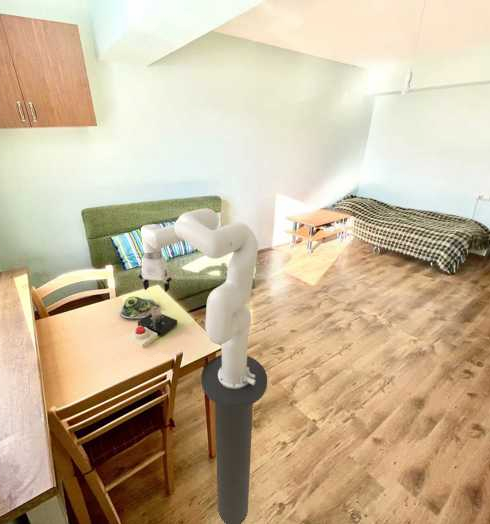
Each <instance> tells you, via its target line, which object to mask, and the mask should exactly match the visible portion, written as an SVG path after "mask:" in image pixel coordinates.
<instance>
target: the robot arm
mask: <svg viewBox="0 0 490 524" xmlns="http://www.w3.org/2000/svg"><path fill="white" fill-rule="evenodd" d="M219 221H220V219H219V216H218V214H217V213H216V211H214V210H213V209H211V208H207V207H206V208H198V209H195V210H190V211H186V212H184V213H182V214H180V216H179V217H178V218H177V220H176V221H175V222H174V224H172V225H166V226H164V227H159V226H158V225H157V224H152V223H151V224H145V225H143V226H142V227H141V228H140V237H141V243H142V250H141V251H140V254H141V255H143V256H142V257H141V268H140V269H138V270H136V271H135V273H136V274H137V276H138V278H139V279H140V281H141V282H142V284H143V289H144V291H147V290H148V289H149V288H150V285H149V281H159V282H160V281H163V283H164V284H163V286H164V287H163V288H164V292H165V293H167V292H168V291H169V290H170V288H171V287H170V282H171V281H172V280H173V278H174V276H175V272H172V271H170V270H168V269H167V264H166V259H165V257H164V255H163V250H162V249H164V248H166V247H168V246H172V245H174V244H178V243H181V242H183V241H184V242H186V243H187V244H189V245H191V246H192V247H193V248H194V249H196V250H198V252H200V253H201V254H203V255H204V256H206V257H208V258H209V259H214V260H215V259H217V260H218V259H220V258H223V257H226V256H228V255H230V254H232V256H231V258H230V260H229V262H228V266H227V274H226V279H225V281H224V282H223V283H222V284H221V285H219V286H217V287H215V288H214V289H213V290H211V292H210V293H209V294H208V297H207V299H206V308H205V323H204V324H205V327H204V328H205V333H206V336H207V337H208V339H209V340H210V341H211V342H212V343H213V344H215V345H221V355H222V367H221V368H220V369H219V371H218V379H219V381H220V383H221V384H222V385H223V386H225V387H227V388H231V389H239V388H242V387H244V386H246V385H247V384H248V383H249V384H252V385H255V382H256V380H254V378H255V375H254V374H251V373H250V371H249V367H247V356H248V346H249V345H248V344H249V331H250V327H251V323H252V314H251V311H250V309H249V307H248V306H247V305H246V304H247V303H249V301H250V299H251V296H252V289H253V283H254V276H255V268H256V264H257V263H256V262H257V259H258V252H259V245H258V240H257V237H256V234H255V232H254V231H253V230H252V229H251V227H249V226H248V225H246V224H245V223H242V222H234V223H228V224H226V225H223V226H220V227H218V226H219ZM250 377H251V378H250ZM252 378H253V379H252Z"/></svg>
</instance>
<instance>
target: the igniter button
mask: <svg viewBox="0 0 490 524" xmlns="http://www.w3.org/2000/svg"><path fill="white" fill-rule="evenodd" d="M136 328H137V329H136ZM136 328H135V329H136V333H137V334H143V333H145V328H144V327H142V326H140V327H138V326H137V327H136Z"/></svg>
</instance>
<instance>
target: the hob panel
mask: <svg viewBox="0 0 490 524" xmlns="http://www.w3.org/2000/svg"><path fill="white" fill-rule="evenodd" d="M161 316H162V322H160V323H158V324H155V323H153V321H152V313H151V314H149V315H148V316H146V317H144V318H140V320H138V321H137V328H138V327H139V326H142V327H146V328H148V329H149V330H151V331H153V332H156V333H158V337H160V338H161V337H163V336H165V335H166V334H167V333H168V332H170V331H171V330H172V329H173V328H175V327H176V326H178V319H175V318H172V317H171V316H167V315H165V314H162V313H161Z"/></svg>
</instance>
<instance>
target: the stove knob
mask: <svg viewBox="0 0 490 524" xmlns="http://www.w3.org/2000/svg"><path fill="white" fill-rule="evenodd" d="M151 313H152V321H153V323H155V324H158V323H160V322H162V316H161V314H162V310H161V309H158V308H156V309H154V310H152V312H151Z"/></svg>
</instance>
